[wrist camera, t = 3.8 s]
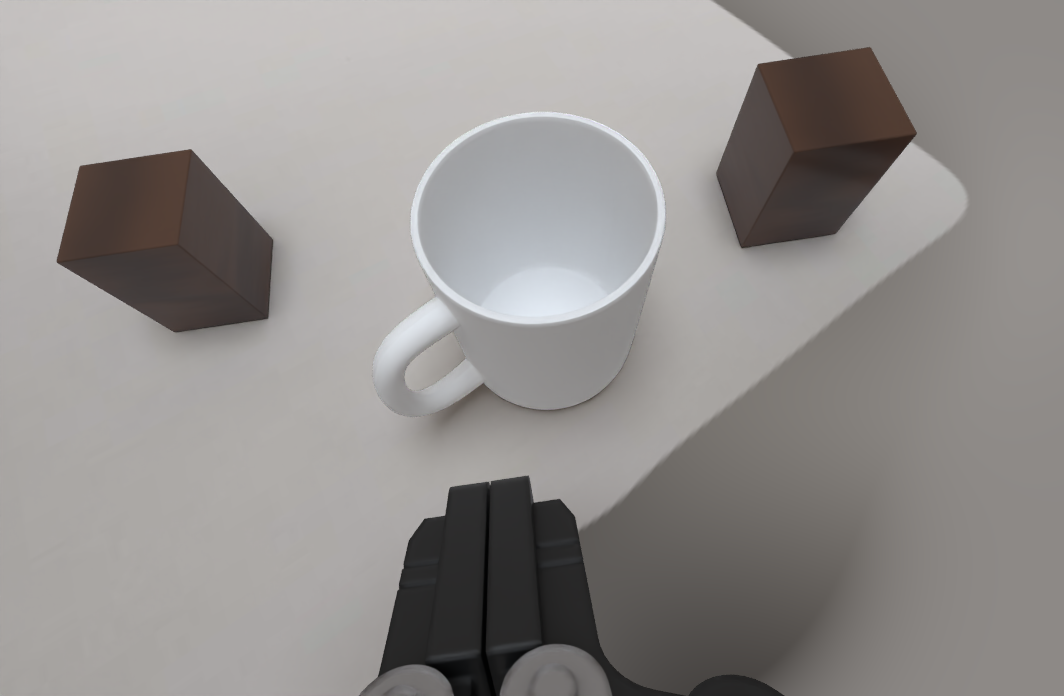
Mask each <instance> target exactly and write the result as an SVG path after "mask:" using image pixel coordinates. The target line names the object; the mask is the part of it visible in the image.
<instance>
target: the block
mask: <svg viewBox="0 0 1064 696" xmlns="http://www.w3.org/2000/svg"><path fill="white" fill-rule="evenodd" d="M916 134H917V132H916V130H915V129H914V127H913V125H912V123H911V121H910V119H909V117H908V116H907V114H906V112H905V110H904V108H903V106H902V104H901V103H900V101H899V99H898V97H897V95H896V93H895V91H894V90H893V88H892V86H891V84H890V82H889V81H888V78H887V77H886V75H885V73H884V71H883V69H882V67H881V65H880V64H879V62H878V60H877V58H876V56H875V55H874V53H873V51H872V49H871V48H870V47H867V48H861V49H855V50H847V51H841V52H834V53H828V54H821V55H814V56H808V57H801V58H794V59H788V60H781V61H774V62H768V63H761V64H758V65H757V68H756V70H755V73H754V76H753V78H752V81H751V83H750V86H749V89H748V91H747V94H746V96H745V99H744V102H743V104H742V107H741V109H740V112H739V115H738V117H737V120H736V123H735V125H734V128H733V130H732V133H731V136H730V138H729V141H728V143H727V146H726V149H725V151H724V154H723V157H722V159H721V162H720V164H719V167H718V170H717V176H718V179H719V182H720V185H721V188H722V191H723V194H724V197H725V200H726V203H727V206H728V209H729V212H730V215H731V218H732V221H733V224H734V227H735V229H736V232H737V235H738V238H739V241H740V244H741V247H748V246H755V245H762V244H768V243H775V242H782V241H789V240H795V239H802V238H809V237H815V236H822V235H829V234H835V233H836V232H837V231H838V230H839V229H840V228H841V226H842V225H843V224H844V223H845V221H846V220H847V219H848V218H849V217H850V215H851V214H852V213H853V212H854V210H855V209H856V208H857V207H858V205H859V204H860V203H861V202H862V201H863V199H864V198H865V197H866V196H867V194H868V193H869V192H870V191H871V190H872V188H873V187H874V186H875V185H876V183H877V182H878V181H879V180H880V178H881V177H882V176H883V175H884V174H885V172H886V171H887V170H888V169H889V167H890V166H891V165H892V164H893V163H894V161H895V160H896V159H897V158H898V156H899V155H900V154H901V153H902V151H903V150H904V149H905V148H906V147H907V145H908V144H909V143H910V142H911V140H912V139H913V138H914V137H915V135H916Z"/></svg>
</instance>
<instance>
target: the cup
mask: <svg viewBox="0 0 1064 696" xmlns="http://www.w3.org/2000/svg"><path fill="white" fill-rule="evenodd" d="M665 225H666V205H665V199H664V194H663V190H662V187H661V184H660V181H659V179H658V177H657V175H656V173H655V171H654V169H653V168H652V166H651V164H650V163H649V161H648V160H647V159H646V157H645V156H644V155H643V154H642V153H641V152H640V150H639V149H638V148H637V147H636V146H635V145H633V144H632V143H631V142H630V141H629V140H628V139H626V138H625V137H624V136H622V135H621V134H619V133H618V132H616V131H614V130H613V129H611V128H609V127H607V126H605V125H603V124H601V123H599V122H596V121H593V120H591V119H588V118H584V117H581V116H577V115H572V114H566V113H558V112H528V113H520V114H514V115H509V116H505V117H502V118H498V119H495V120H492V121H489V122H487V123H485V124H482V125H480V126H478V127H476V128H474V129H472V130H470V131H468V132H467V133H465V134H463V135H462V136H460V137H459V138H457V139H456V140H455V141H453V142H452V143H451V144H450V145H449V146H447V147H446V148H445V149H444V150H443V151H442V152H441V153H440V154H439V155H438V156H437V157H436V158H435V160H434V161H433V162H432V163H431V165H430V166H429V167H428V169H427V171H426V172H425V174H424V175H423V177H422V179H421V181H420V183H419V185H418V188H417V190H416V193H415V196H414V200H413V203H412V208H411V215H410V231H411V239H412V244H413V248H414V251H415V254H416V257H417V259H418V261H419V263H420V265H421V267H422V269H423V271H424V273H425V275H426V277H427V279H428V281H429V283H430V286H431V288H432V290H433V292H434V294H435V297H434V298H433V299H431V300H430V301H429V302H427V303H426V304H424V305H423V306H421V307H420V308H419V309H417V310H416V311H414V312H413V313H412V314H411V315H409V316H408V317H407V318H405V319H404V320H403V321H402V322H401V323H399V324H398V325H397V326H396V327H395V328H394V329H393V330H392V331H391V332H390V333H389V334H388V335H387V337H386V338H385V339H384V341H383V342H382V344H381V345H380V347H379V348H378V350H377V352H376V354H375V358H374V361H373V373H372V377H373V383H374V386H375V389H376V391H377V393H378V396H379V397H380V399H381V401H382V402H383V403H384V404H385V405H386V406H387V407H388V408H390V409H391V410H392V411H394V412H395V413H397V414H400V415H403V416H407V417H421V416H426V415H430V414H433V413H436V412H438V411H441V410H443V409H445V408H447V407H448V406H450V405H452V404H454V403H455V402H457V401H458V400H460V399H461V398H463V397H464V396H466V395H467V394H469V393H470V392H472V391H473V390H474V389H476V388H477V387H478V386H480V385H481V384H483V383H484V384H485V385H486V386H487V387H488V388H489V389H490V390H491V391H493V392H494V393H495V394H497V395H498V396H500V397H501V398H503V399H505V400H507V401H509V402H511V403H513V404H516V405H519V406H522V407H526V408H531V409H539V410H553V409H561V408H567V407H570V406H574V405H577V404H579V403H582V402H584V401H586V400H588V399H590V398H592V397H593V396H595V395H596V394H598V393H599V392H600V391H602V390H603V389H604V388H605V387H606V386H607V385H608V384H609V383H610V382H611V381H612V380H613V379H614V378H615V376H616V375H617V374H618V372H619V371H620V369H621V368H622V366H623V364H624V362H625V360H626V358H627V356H628V353H629V351H630V348H631V345H632V342H633V338H634V335H635V331H636V328H637V325H638V321H639V318H640V314H641V311H642V308H643V304H644V301H645V297H646V294H647V291H648V287H649V284H650V281H651V277H652V274H653V270H654V267H655V264H656V260H657V257H658V253H659V250H660V247H661V243H662V240H663V236H664V231H665ZM452 331H453V332H454V334H455V336H456V338H457V340H458V342H459V344H460V346H461V348H462V351H463V353H464V355H465V357H466V359H465V360H464V361H462V362H461V363H460V364H459V365H458V366H457V367H456V368H455V369H453V370H452V371H451V372H450V373H449V374H447V375H446V376H445V377H443V378H442V379H441V380H439V381H438V382H436V383H435V384H433V385H431V386H429V387H427V388H425V389H423V390H419V391H412V390H410V389H409V388H408V387H407V385H406V383H405V379H404V375H405V370H406V368H407V366H408V365H409V364H410V362H411V361H412V360H413V359H414V358H416V357H417V356H418V355H419V354H420V353H422V352H423V351H424V350H426V349H427V348H428V347H430V346H431V345H433V344H434V343H436V342H437V341H439V340H440V339H442V338H443V337H445V336H446V335H448V334H449V333H451V332H452Z"/></svg>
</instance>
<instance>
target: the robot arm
mask: <svg viewBox="0 0 1064 696" xmlns="http://www.w3.org/2000/svg"><path fill="white" fill-rule="evenodd" d="M359 696H683V695H678V694H673V693H668V692H663V691H658V690H653V689H650V688H646V687H643V686H640V685H638V684H636V683H633V682H632V681H630V680H629V679H627V678H625V677H624V676H623V675H621V674H620V673H619V672H618V671H617V670H616V669H615V668H614V667H613V666H612V665H611V664H610V663H609V661H608V660H607V658H606V657H605V656H604V653H603V651H602V649H601V647H600V643H599V639H598V635H597V630H596V624H595V619H594V615H593V609H592V603H591V599H590V593H589V588H588V583H587V578H586V572H585V567H584V563H583V557H582V552H581V547H580V542H579V536H578V530H577V525H576V520H575V516H574V515H573V514H572V513H571V511H570V510H569V509H568V508H567V507H566V506H565V504H564V503H563V502H562V501H561V500H560V499H557V500H550V501H543V502H537V503H534V502H533V496H532V490H531V484H530V478H529V476H523V477H516V478H509V479H502V480H496V481H491V486H490V483H489V482H483V483H476V484H469V485H462V486H455V487H450V489H449V494H448V501H447V508H446V515H445V516H441V517H434V518H427V519H424V520H423V522H422V523H421V524H420V526H419V527H418V529H417V530H416V531H415V533H414V534H413V536H412V537H411V538H410V540H409V542H408V547H407V551H406V556H405V560H404V569H402V573H401V578H400V582H399V590H398V591H397V596H396V600H395V605H394V609H393V614H392V618H391V623H390V627H389V632H388V636H387V640H386V645H385V649H384V654H383V658H382V663H381V667H380V671H379V675H378V678H376V679H375V680H374V681H373V682H372V683H370V684H369V685H368V686H367V687H366V688H365V689H364V690H363V691H362V692H361V694H360V695H359ZM689 696H784V695H782V694H781V693H779V692H778V691H777V690H775V689H773V688H772V687H770V686H768V685H767V684H765V683H762V682H760V681H758V680H756V679H752V678H749V677H745V676H739V675H721V676H716V677H712V678H710V679H707V680H705V681H704V682H702V683H700V684H699V685H698V686H696V688H694V689H693V691H691V693H690V694H689Z"/></svg>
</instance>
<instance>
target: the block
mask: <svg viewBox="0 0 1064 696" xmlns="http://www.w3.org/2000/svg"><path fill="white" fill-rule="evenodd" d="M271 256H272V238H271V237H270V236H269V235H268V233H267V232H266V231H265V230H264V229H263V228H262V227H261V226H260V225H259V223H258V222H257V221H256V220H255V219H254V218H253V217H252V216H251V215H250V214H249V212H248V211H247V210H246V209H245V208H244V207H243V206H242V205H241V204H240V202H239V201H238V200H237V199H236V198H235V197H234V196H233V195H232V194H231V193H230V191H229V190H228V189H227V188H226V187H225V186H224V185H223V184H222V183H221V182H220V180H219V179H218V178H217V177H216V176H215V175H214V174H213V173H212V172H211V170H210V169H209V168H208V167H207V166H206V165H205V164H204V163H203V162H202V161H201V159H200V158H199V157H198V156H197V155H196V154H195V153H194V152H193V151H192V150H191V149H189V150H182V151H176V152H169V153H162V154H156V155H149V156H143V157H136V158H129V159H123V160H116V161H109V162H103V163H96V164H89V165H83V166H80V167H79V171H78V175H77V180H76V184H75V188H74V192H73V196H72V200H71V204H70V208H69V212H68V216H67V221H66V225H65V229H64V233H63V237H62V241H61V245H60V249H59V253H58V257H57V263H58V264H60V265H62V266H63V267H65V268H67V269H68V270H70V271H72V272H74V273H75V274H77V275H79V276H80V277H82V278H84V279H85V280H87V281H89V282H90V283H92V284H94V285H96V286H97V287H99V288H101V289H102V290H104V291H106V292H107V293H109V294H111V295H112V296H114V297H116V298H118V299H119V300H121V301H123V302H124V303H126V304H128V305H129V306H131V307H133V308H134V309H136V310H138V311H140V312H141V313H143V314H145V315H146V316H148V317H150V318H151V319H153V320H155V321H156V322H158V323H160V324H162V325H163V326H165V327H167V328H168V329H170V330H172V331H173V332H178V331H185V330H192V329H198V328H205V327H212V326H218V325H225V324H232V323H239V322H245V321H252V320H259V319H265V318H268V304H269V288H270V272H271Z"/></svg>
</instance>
